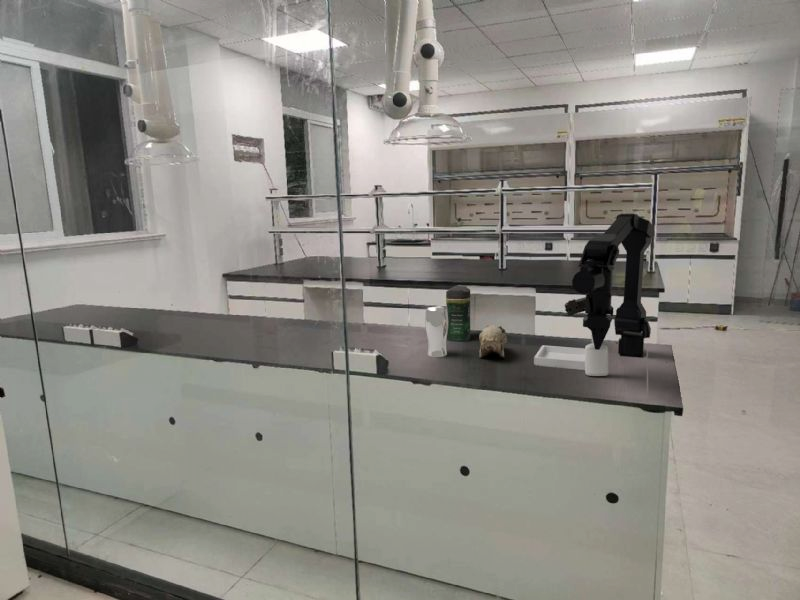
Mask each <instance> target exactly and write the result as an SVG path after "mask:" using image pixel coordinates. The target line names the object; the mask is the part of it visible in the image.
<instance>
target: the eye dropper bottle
mask: <svg viewBox="0 0 800 600" xmlns="http://www.w3.org/2000/svg"><path fill="white" fill-rule="evenodd" d="M584 371H585V372H584V373H585V375H587V376H589V377H605V376H608V375H609V347H608V346H607V345H606V344H604V343H602V345H601V347H600V349H599V350H596V349H595V347H594V342H593V337H592V336H591V343H588V344H587V345H585V370H584Z"/></svg>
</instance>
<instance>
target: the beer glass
mask: <svg viewBox="0 0 800 600" xmlns="http://www.w3.org/2000/svg"><path fill="white" fill-rule="evenodd" d="M447 309H448V308H446V306H442V305H441V306H438V305H437V306H428V307H426V308H425V313H424V314H425V318H424V320H425V321H424V325H425V332H426V338H427V343H428V348H427V349H428V351H427V355H428V356H429V357H434V358H441V357H446V356H448V352H447V340H446V339H447V333H448V310H447Z"/></svg>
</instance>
